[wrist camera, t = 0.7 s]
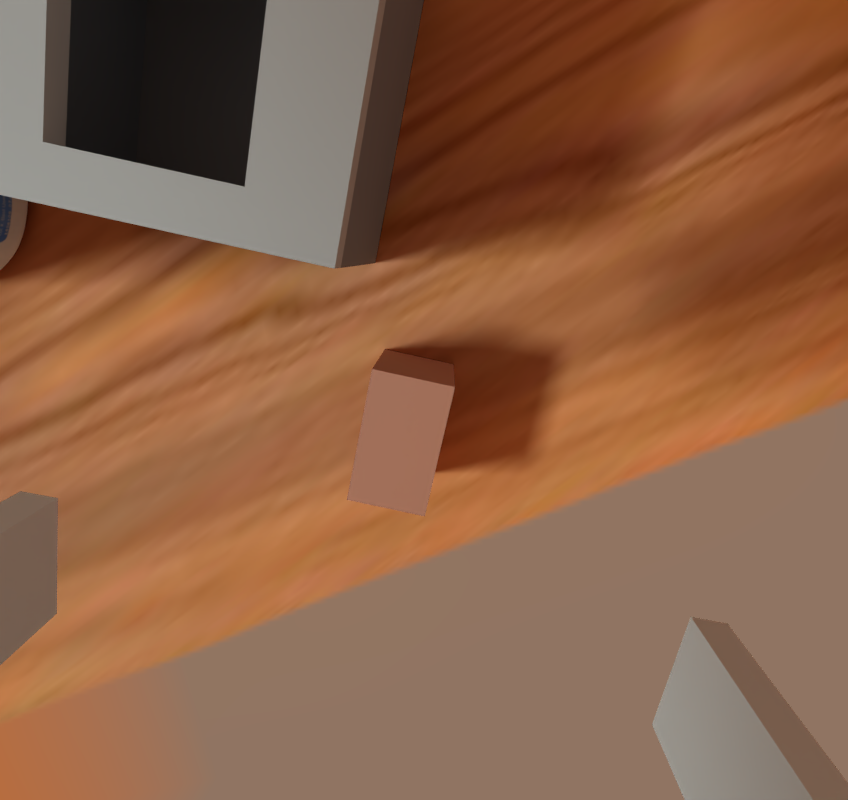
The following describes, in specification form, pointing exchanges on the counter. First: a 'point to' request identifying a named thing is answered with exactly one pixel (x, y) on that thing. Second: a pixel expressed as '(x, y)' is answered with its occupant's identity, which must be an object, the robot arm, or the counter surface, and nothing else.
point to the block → (402, 432)
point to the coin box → (211, 116)
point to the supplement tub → (11, 226)
